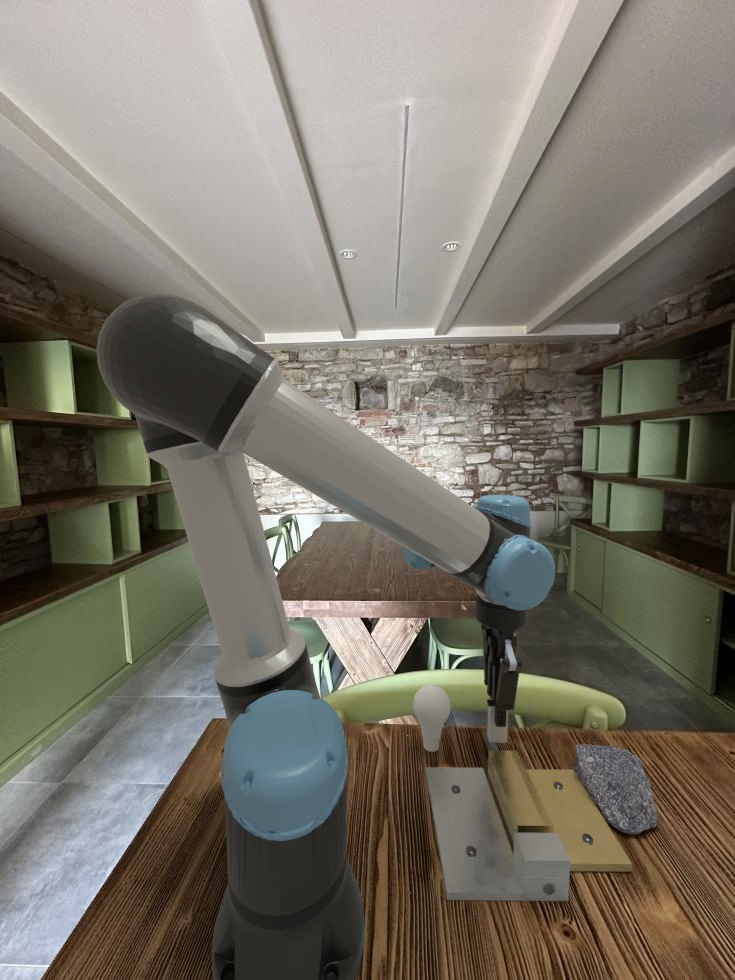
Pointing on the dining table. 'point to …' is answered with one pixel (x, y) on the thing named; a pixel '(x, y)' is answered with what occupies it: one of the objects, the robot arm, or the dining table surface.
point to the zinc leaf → (490, 844)
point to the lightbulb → (431, 714)
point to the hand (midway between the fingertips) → (497, 739)
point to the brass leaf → (553, 812)
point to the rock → (617, 786)
